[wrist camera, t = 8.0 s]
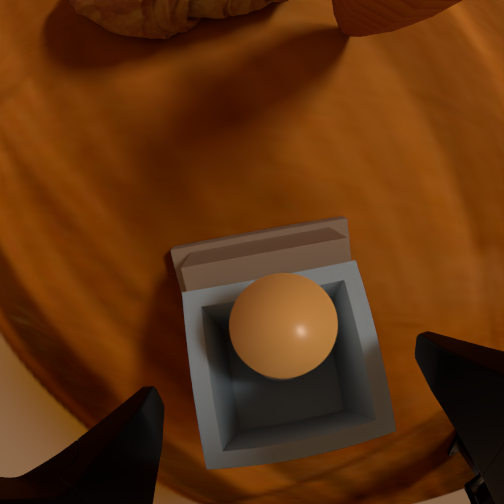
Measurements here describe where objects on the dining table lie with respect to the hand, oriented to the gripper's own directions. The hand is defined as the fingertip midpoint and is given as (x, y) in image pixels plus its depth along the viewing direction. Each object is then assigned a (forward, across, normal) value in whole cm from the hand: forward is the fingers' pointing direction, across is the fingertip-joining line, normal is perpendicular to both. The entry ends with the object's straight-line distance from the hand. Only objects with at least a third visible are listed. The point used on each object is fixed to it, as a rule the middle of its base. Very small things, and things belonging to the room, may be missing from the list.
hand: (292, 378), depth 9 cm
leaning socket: (+8, 0, +2) cm, 8 cm away
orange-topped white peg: (+6, 0, +3) cm, 6 cm away
